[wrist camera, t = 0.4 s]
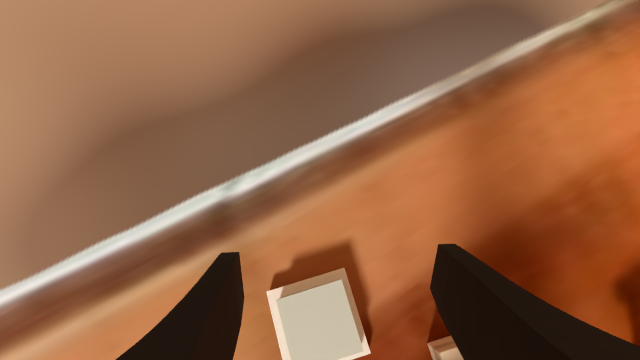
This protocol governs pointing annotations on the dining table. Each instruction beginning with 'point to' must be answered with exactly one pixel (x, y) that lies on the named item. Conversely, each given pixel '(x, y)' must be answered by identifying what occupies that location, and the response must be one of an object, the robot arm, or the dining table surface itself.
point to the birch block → (444, 349)
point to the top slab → (319, 323)
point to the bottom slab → (308, 284)
